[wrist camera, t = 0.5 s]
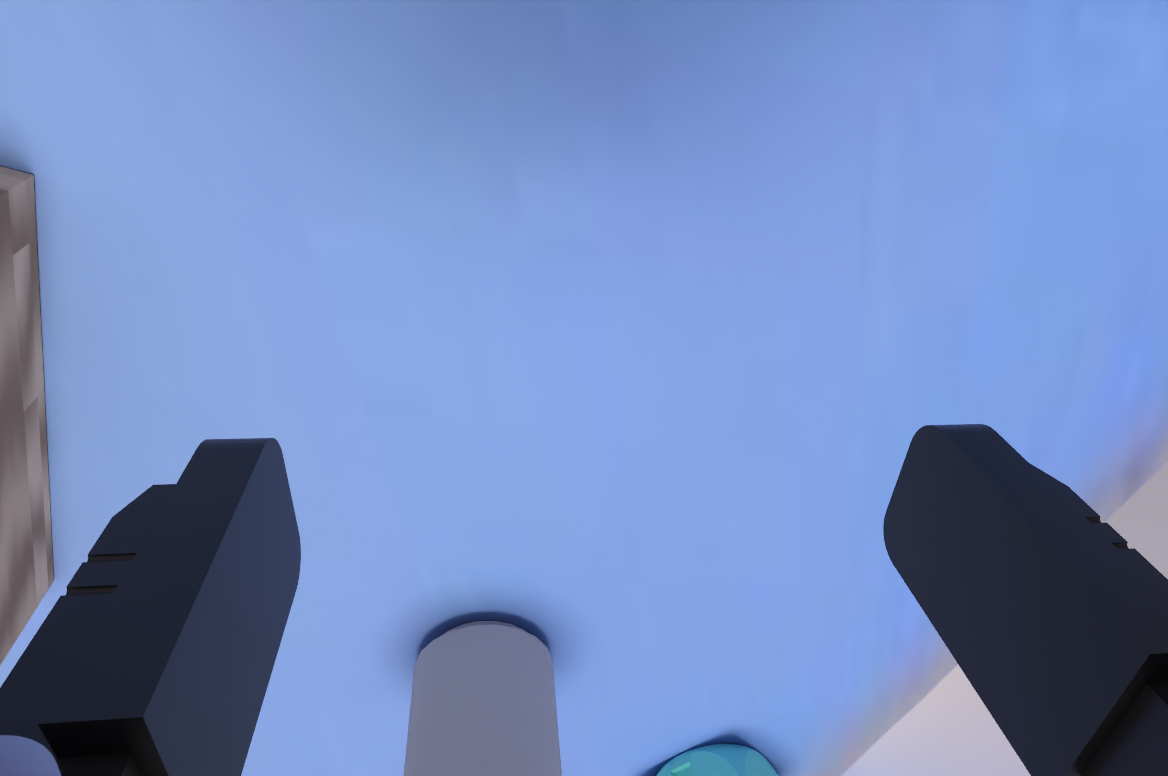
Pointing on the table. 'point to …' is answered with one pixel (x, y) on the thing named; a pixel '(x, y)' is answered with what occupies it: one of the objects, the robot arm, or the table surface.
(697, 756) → the decorative dice
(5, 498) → the wooden rack
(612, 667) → the table surface
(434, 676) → the can
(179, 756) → the robot arm
